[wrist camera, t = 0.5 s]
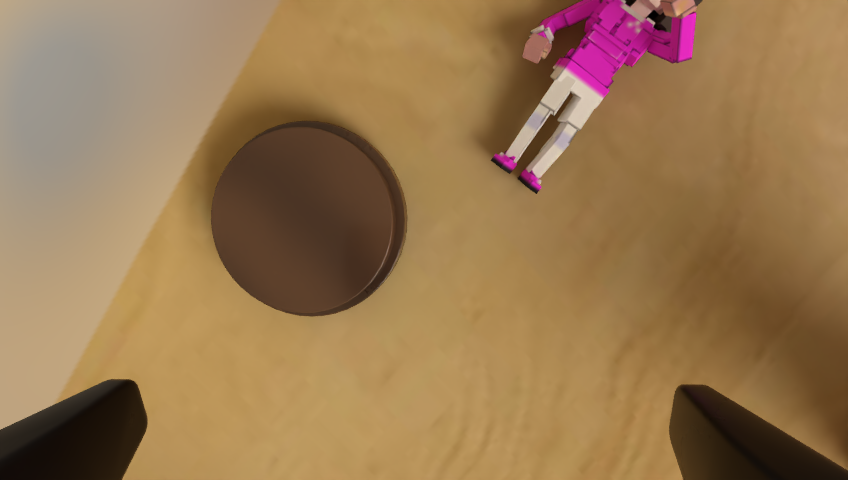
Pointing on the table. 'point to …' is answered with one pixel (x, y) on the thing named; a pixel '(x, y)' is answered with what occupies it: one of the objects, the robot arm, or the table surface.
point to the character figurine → (595, 66)
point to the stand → (309, 218)
